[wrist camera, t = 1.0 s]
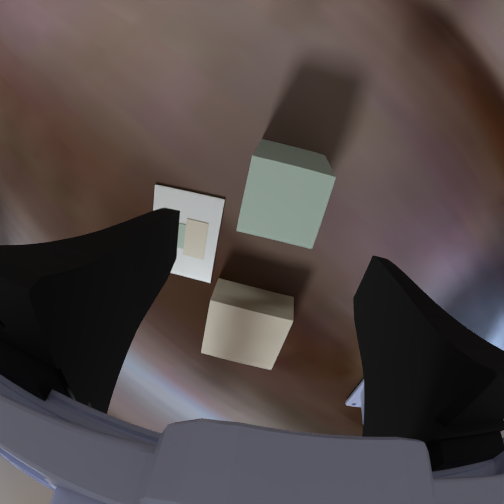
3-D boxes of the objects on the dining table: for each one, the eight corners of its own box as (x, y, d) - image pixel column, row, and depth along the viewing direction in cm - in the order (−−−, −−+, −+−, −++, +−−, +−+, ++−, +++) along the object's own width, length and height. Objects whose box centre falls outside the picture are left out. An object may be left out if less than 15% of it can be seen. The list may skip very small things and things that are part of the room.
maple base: (293, 294, 24) (293, 320, 21) (273, 344, 27) (271, 369, 24) (219, 275, 24) (210, 300, 21) (208, 328, 27) (201, 352, 24)
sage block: (324, 155, 18) (335, 177, 14) (307, 211, 20) (311, 249, 16) (261, 138, 18) (252, 155, 14) (248, 197, 20) (236, 230, 16)
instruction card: (224, 199, 20) (224, 200, 20) (210, 282, 24) (210, 283, 24) (155, 184, 20) (154, 185, 20) (151, 266, 24) (150, 267, 24)
